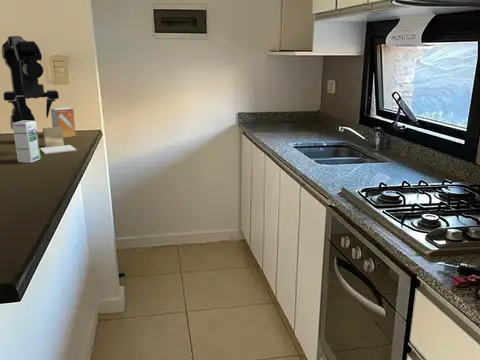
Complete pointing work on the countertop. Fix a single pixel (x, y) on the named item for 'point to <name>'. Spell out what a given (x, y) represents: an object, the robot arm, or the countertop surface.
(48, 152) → the flat white panel
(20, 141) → the syrup box
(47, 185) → the countertop surface
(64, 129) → the small box
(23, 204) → the countertop surface
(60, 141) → the beige and teal box
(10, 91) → the robot arm
